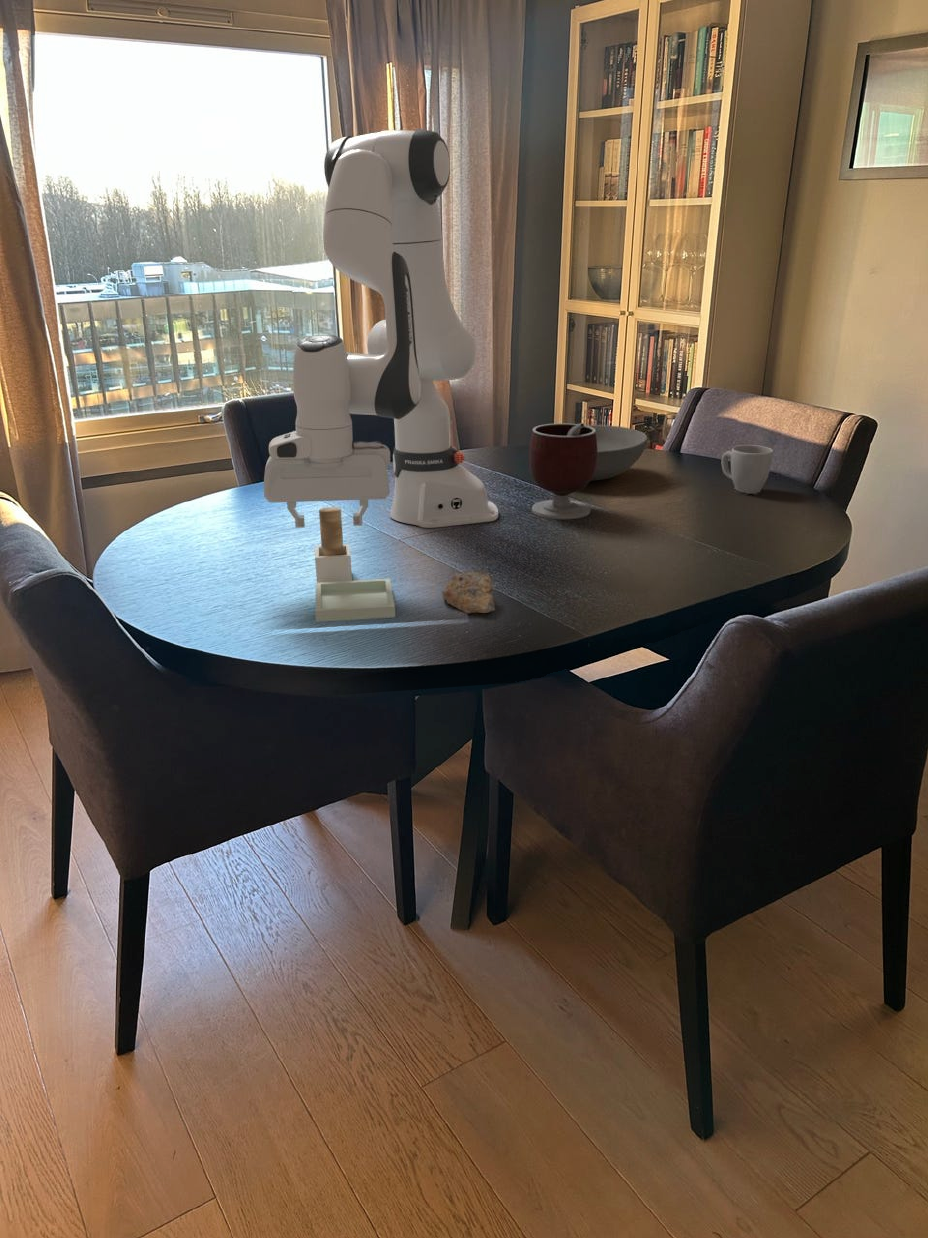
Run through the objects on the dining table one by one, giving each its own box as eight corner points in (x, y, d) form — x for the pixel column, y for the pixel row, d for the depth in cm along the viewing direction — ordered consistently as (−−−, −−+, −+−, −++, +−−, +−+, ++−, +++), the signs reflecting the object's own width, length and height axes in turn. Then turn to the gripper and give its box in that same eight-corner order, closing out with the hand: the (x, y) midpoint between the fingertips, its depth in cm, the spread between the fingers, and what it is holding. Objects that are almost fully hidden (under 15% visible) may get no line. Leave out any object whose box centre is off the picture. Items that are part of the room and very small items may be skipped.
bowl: (653, 491, 206) (657, 447, 203) (536, 491, 207) (537, 447, 203) (635, 463, 231) (637, 423, 227) (530, 463, 231) (531, 423, 227)
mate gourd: (518, 504, 197) (520, 411, 189) (577, 498, 201) (581, 407, 193) (546, 525, 184) (549, 425, 176) (608, 518, 188) (614, 420, 180)
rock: (440, 595, 151) (438, 607, 141) (448, 560, 149) (448, 570, 140) (491, 607, 151) (493, 621, 141) (500, 573, 150) (503, 584, 140)
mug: (776, 492, 205) (781, 449, 202) (752, 499, 200) (757, 455, 197) (731, 481, 214) (736, 440, 210) (707, 487, 209) (712, 445, 205)
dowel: (344, 574, 157) (340, 506, 152) (345, 581, 154) (341, 512, 149) (323, 575, 157) (318, 507, 152) (323, 582, 153) (318, 513, 149)
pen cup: (351, 574, 158) (349, 544, 156) (352, 587, 153) (350, 555, 151) (317, 576, 158) (315, 546, 156) (317, 588, 152) (315, 557, 150)
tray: (390, 591, 151) (389, 578, 150) (395, 620, 140) (394, 606, 139) (316, 595, 150) (315, 582, 149) (316, 625, 139) (315, 611, 138)
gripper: (388, 437, 150) (390, 518, 155) (261, 439, 147) (268, 522, 153) (391, 445, 144) (393, 529, 150) (259, 448, 142) (266, 533, 147)
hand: (329, 525), depth 151 cm, fingers open, 8 cm apart
